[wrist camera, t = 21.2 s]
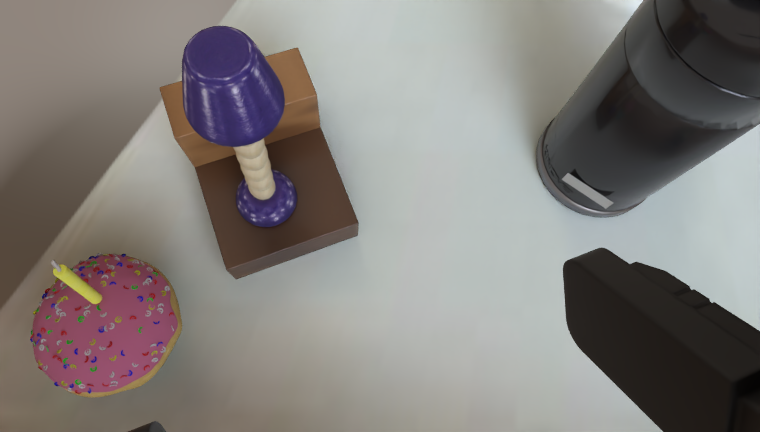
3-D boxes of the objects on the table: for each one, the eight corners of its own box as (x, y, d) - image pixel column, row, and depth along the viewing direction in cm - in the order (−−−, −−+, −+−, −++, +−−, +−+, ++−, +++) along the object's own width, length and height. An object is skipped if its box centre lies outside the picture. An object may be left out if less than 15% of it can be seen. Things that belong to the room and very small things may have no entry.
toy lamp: (283, 157, 38) (236, -13, 22) (318, 207, 37) (296, 66, 21) (225, 191, 37) (131, 39, 21) (260, 244, 36) (188, 125, 20)
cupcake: (90, 266, 37) (-23, 212, 26) (209, 275, 38) (148, 225, 26) (58, 392, 35) (-84, 392, 23) (187, 401, 35) (108, 405, 23)
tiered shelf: (306, 104, 43) (297, 46, 36) (358, 235, 39) (359, 200, 32) (191, 139, 41) (159, 87, 34) (235, 279, 38) (209, 253, 31)
